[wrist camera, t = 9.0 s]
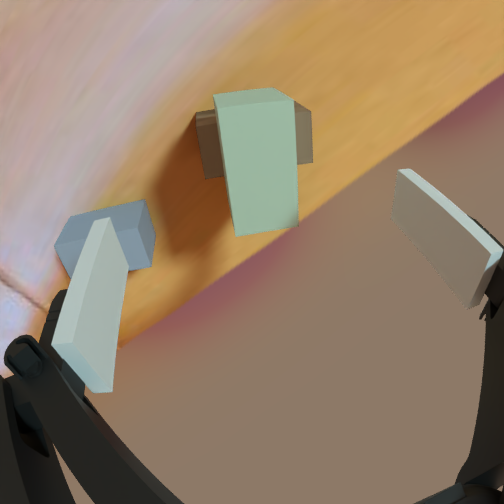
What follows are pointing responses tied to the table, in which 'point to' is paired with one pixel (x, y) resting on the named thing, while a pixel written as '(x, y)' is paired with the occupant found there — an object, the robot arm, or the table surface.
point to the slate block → (127, 230)
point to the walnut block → (211, 144)
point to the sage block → (258, 158)
